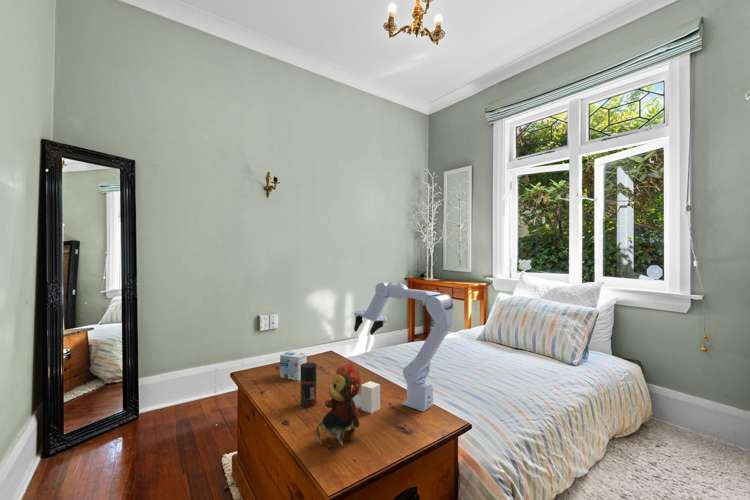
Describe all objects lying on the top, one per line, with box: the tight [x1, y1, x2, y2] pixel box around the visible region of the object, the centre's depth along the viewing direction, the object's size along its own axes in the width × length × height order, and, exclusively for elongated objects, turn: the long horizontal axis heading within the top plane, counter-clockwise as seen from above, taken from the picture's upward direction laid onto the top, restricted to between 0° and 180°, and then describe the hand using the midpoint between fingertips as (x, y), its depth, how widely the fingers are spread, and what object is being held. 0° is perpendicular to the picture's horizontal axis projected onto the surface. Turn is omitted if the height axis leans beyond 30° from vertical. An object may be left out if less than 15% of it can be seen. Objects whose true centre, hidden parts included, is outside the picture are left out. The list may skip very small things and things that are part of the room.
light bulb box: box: [279, 350, 308, 382], centre depth 159 cm, size 11×7×11 cm, turn 68°
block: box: [360, 380, 381, 414], centre depth 126 cm, size 5×5×9 cm
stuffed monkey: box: [315, 361, 362, 446], centre depth 105 cm, size 15×17×25 cm
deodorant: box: [300, 362, 318, 409], centre depth 131 cm, size 6×6×15 cm
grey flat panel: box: [353, 394, 361, 410], centre depth 133 cm, size 13×11×1 cm
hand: (363, 331), depth 148 cm, fingers open, 7 cm apart
